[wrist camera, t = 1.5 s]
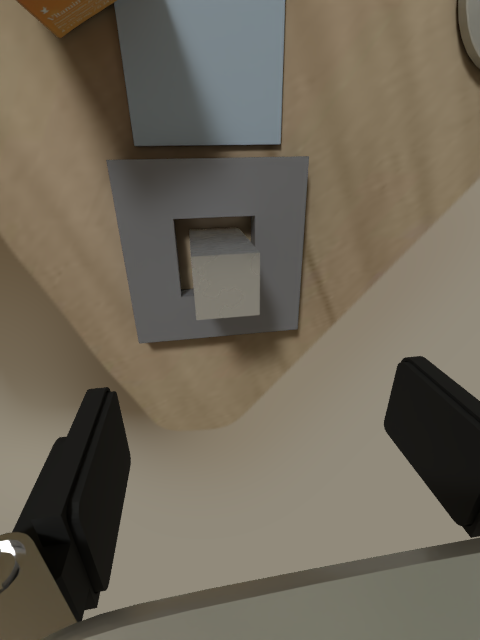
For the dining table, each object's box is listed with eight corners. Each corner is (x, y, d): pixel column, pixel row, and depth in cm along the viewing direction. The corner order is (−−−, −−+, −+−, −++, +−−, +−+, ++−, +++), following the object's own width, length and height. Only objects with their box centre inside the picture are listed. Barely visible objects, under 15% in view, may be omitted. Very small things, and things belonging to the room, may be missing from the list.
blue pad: (285, -52, 22) (286, -56, 22) (279, 144, 27) (280, 144, 27) (105, -65, 21) (103, -69, 20) (135, 146, 26) (134, 145, 26)
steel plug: (237, 227, 30) (260, 252, 21) (238, 273, 32) (259, 314, 23) (189, 229, 29) (190, 256, 20) (193, 276, 31) (196, 320, 22)
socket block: (301, 157, 28) (308, 156, 26) (291, 320, 35) (297, 329, 33) (111, 160, 26) (106, 159, 24) (141, 333, 33) (139, 343, 31)
